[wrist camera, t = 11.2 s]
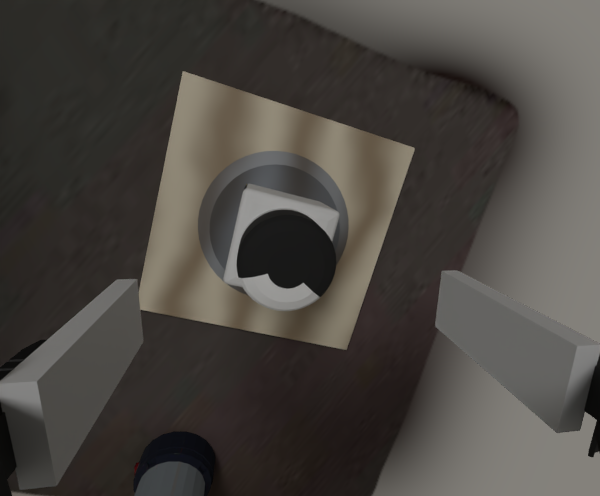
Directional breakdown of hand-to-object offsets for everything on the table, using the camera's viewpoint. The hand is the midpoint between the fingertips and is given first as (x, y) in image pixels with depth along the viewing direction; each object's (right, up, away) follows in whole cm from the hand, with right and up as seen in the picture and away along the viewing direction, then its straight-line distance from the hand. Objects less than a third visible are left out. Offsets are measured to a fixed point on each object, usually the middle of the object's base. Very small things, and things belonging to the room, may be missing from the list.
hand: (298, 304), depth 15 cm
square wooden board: (-2, +5, +19) cm, 20 cm away
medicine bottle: (-2, +4, +17) cm, 18 cm away
